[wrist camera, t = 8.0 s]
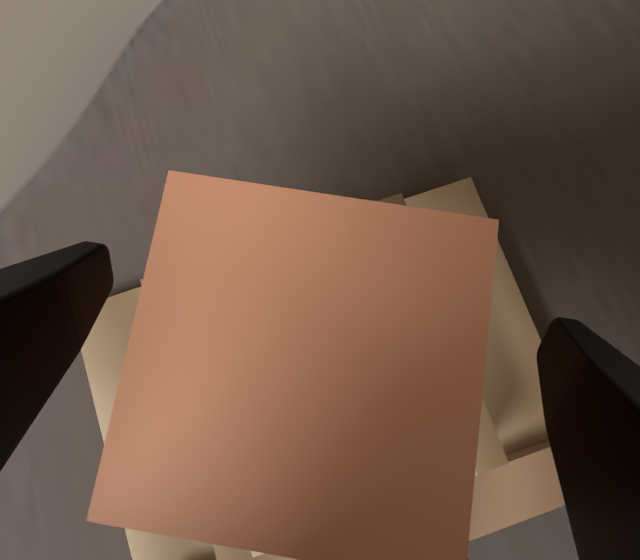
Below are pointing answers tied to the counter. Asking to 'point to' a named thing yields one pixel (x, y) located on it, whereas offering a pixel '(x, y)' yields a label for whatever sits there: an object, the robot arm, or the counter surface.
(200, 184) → the block
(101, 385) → the jig
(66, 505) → the counter surface
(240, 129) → the counter surface
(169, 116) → the counter surface
